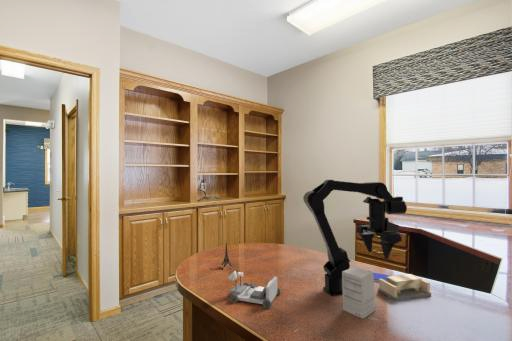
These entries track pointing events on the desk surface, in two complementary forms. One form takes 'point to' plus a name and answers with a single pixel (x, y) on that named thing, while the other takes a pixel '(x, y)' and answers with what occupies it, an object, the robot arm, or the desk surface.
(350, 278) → the supplement box
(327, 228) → the robot arm
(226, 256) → the eiffel tower figurine
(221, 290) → the desk surface
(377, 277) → the hard drive
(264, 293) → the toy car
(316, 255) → the desk surface
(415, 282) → the board
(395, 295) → the peg base
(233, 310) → the desk surface
